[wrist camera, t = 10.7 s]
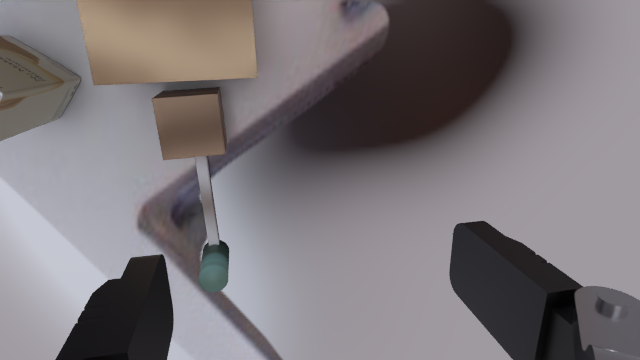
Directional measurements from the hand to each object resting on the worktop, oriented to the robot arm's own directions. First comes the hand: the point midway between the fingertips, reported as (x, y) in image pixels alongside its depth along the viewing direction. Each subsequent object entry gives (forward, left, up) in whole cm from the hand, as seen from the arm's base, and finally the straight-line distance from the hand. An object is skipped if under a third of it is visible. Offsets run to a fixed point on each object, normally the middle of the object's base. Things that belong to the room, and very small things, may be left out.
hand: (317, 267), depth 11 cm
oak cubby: (-9, -6, -30) cm, 32 cm away
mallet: (+7, -6, -30) cm, 31 cm away
